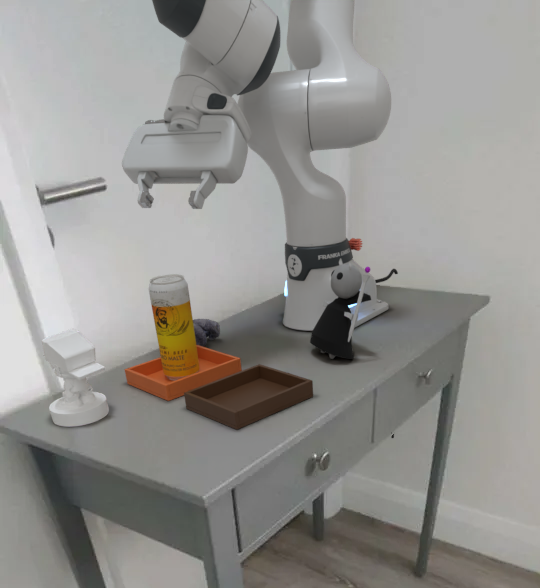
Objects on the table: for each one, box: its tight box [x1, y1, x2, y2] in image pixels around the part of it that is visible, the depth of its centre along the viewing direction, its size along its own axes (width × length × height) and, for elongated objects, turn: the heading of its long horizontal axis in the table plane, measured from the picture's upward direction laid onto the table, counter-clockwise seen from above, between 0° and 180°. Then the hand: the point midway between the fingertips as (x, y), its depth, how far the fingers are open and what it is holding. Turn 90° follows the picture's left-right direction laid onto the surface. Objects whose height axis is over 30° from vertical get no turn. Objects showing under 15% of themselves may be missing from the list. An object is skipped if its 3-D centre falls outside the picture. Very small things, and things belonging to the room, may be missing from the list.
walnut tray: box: [183, 363, 314, 430], centre depth 97 cm, size 15×12×2 cm
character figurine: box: [41, 328, 110, 428], centre depth 95 cm, size 9×10×12 cm
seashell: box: [193, 318, 221, 347], centre depth 120 cm, size 5×5×10 cm
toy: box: [309, 258, 371, 360], centre depth 108 cm, size 12×7×15 cm, turn 22°
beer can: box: [148, 273, 200, 381], centre depth 103 cm, size 6×6×15 cm
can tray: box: [124, 345, 243, 402], centre depth 108 cm, size 15×12×2 cm
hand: (168, 206), depth 97 cm, fingers open, 8 cm apart
